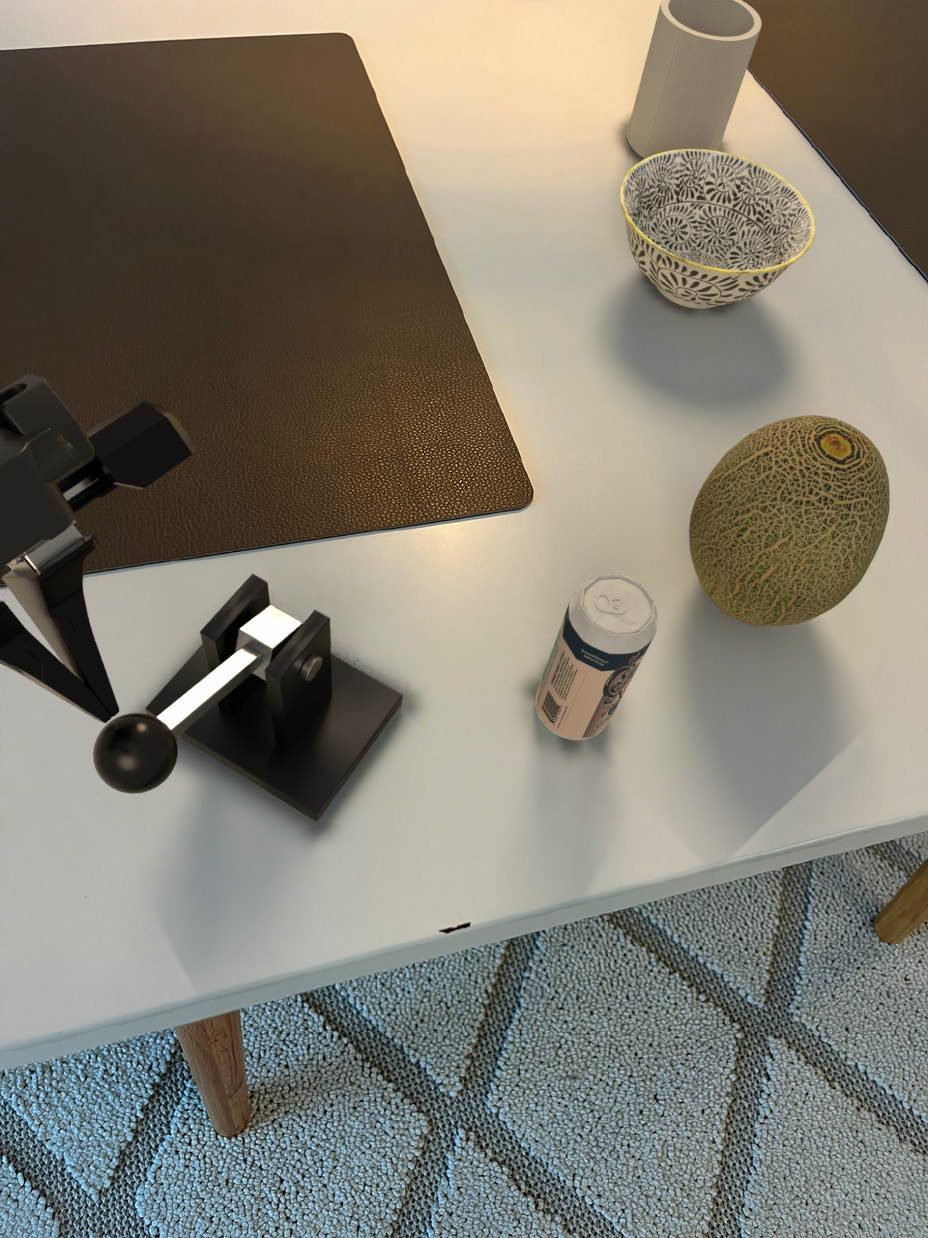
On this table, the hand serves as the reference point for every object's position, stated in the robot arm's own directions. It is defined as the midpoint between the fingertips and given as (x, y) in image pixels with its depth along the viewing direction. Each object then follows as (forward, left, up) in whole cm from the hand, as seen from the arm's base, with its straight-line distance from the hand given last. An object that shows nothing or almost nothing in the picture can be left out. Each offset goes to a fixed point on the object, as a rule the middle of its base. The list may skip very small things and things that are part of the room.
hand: (109, 716), depth 41 cm
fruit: (+22, +34, -14) cm, 43 cm away
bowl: (+6, +62, -14) cm, 64 cm away
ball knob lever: (+1, +4, -6) cm, 7 cm away
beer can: (+16, +19, -14) cm, 29 cm away
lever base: (+1, +9, -14) cm, 17 cm away
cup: (-4, +81, -14) cm, 82 cm away
